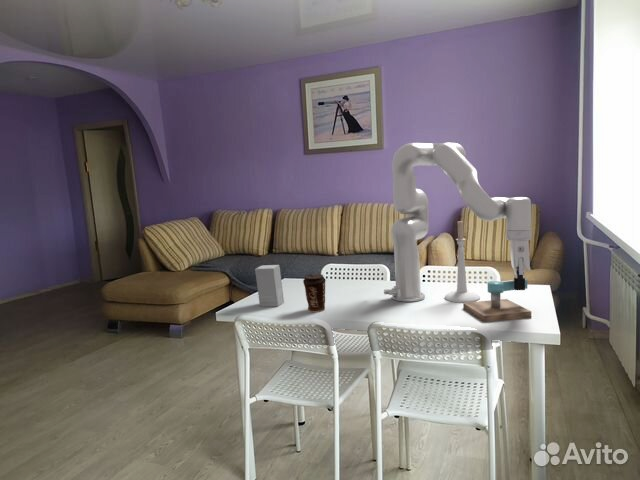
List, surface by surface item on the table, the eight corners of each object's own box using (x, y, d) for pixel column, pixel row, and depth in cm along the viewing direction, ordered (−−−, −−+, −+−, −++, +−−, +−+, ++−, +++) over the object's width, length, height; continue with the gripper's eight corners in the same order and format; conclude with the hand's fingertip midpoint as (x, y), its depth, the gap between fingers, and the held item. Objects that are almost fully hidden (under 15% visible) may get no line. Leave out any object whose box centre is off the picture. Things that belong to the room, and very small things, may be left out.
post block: (483, 321, 147) (483, 300, 146) (463, 308, 163) (462, 289, 162) (531, 317, 149) (531, 296, 148) (506, 304, 165) (506, 285, 164)
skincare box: (284, 302, 186) (281, 264, 184) (277, 307, 180) (274, 267, 178) (265, 302, 189) (262, 264, 187) (257, 306, 183) (254, 267, 181)
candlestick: (470, 304, 167) (468, 222, 164) (438, 299, 176) (436, 221, 172) (485, 296, 177) (484, 218, 173) (454, 292, 185) (452, 218, 182)
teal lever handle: (492, 294, 152) (492, 284, 152) (484, 290, 157) (484, 281, 157) (531, 289, 155) (530, 280, 154) (521, 286, 160) (521, 277, 159)
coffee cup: (306, 307, 178) (303, 274, 176) (327, 306, 177) (325, 272, 176) (304, 313, 169) (302, 279, 167) (327, 312, 169) (325, 277, 167)
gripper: (534, 237, 143) (535, 295, 145) (528, 231, 157) (528, 284, 160) (508, 238, 145) (509, 295, 148) (504, 232, 160) (505, 284, 162)
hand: (519, 289), depth 154 cm, fingers closed
